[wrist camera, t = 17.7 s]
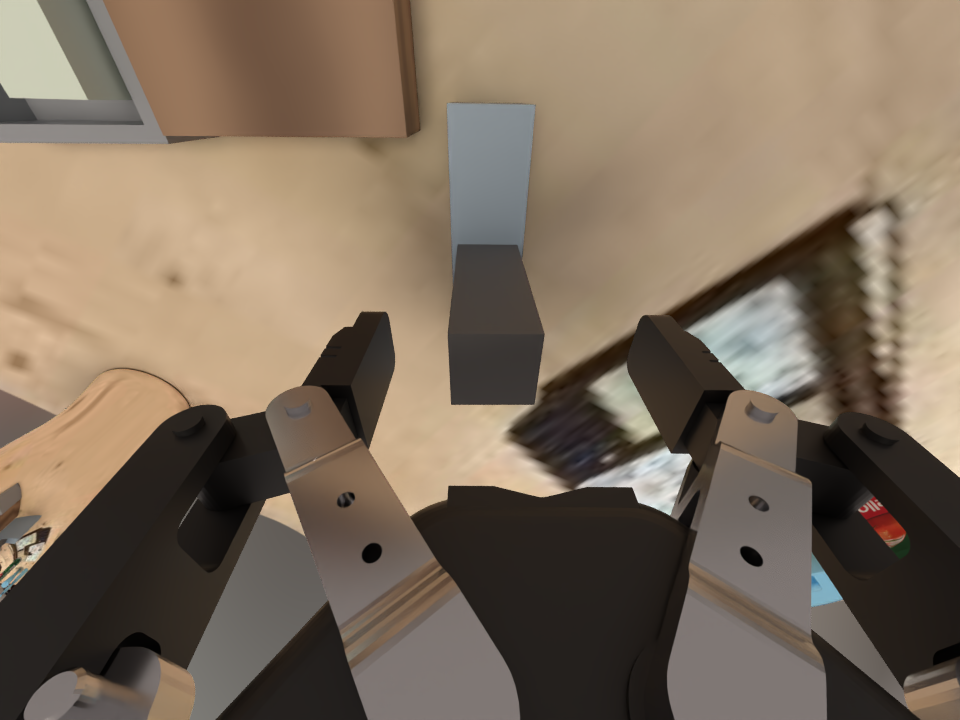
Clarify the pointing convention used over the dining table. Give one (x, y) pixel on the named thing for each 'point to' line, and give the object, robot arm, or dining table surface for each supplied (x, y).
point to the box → (87, 108)
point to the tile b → (56, 52)
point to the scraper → (491, 256)
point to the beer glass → (73, 462)
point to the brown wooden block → (273, 66)
